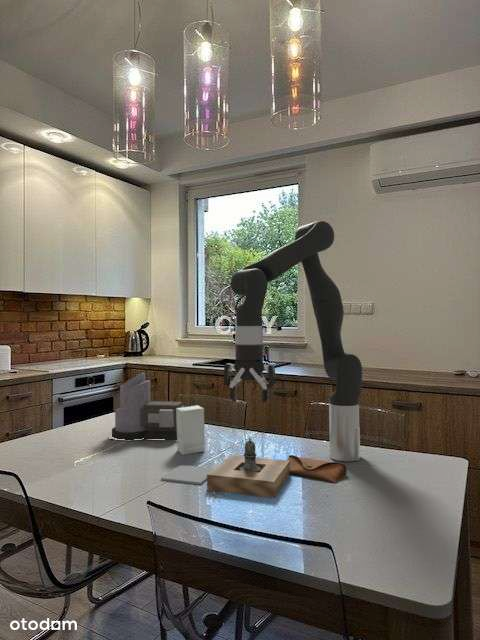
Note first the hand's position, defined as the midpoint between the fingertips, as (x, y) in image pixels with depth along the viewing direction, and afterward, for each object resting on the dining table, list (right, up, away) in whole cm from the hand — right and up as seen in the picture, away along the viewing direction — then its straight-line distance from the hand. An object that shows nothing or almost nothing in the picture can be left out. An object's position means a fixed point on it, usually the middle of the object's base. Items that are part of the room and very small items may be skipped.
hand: (249, 402), depth 126 cm
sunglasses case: (+18, -22, +6) cm, 29 cm away
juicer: (-38, -22, +51) cm, 68 cm away
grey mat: (-17, -22, +6) cm, 28 cm away
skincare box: (-19, -22, +30) cm, 42 cm away
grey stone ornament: (0, -22, 0) cm, 22 cm away
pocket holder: (0, -22, 0) cm, 22 cm away
